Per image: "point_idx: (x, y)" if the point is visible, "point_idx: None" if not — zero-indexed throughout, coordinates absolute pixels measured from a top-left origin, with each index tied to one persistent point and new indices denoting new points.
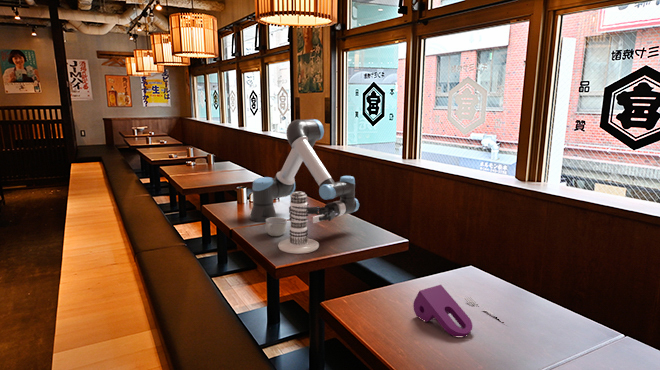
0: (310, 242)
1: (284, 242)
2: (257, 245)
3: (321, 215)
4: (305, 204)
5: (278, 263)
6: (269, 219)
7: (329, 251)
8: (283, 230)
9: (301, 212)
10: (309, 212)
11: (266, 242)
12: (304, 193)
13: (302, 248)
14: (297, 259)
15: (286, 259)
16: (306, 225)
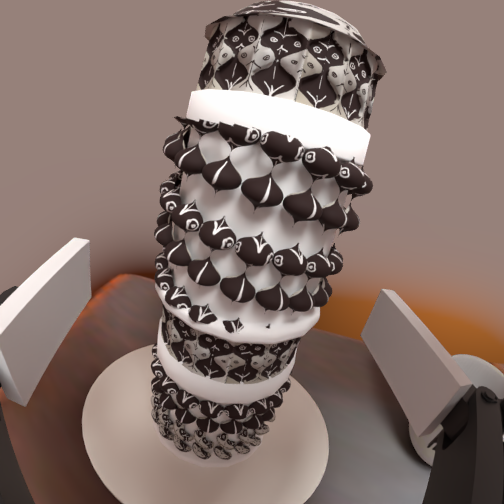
0: (175, 481)
1: (284, 394)
2: (331, 342)
3: (7, 299)
4: (188, 107)
5: (137, 283)
6: (501, 385)
7: (12, 440)
8: (423, 441)
9: (181, 176)
10: (439, 484)
11: (350, 375)
12: (248, 6)
13: (139, 382)
14: (101, 319)
15: (136, 307)
16: (171, 344)
